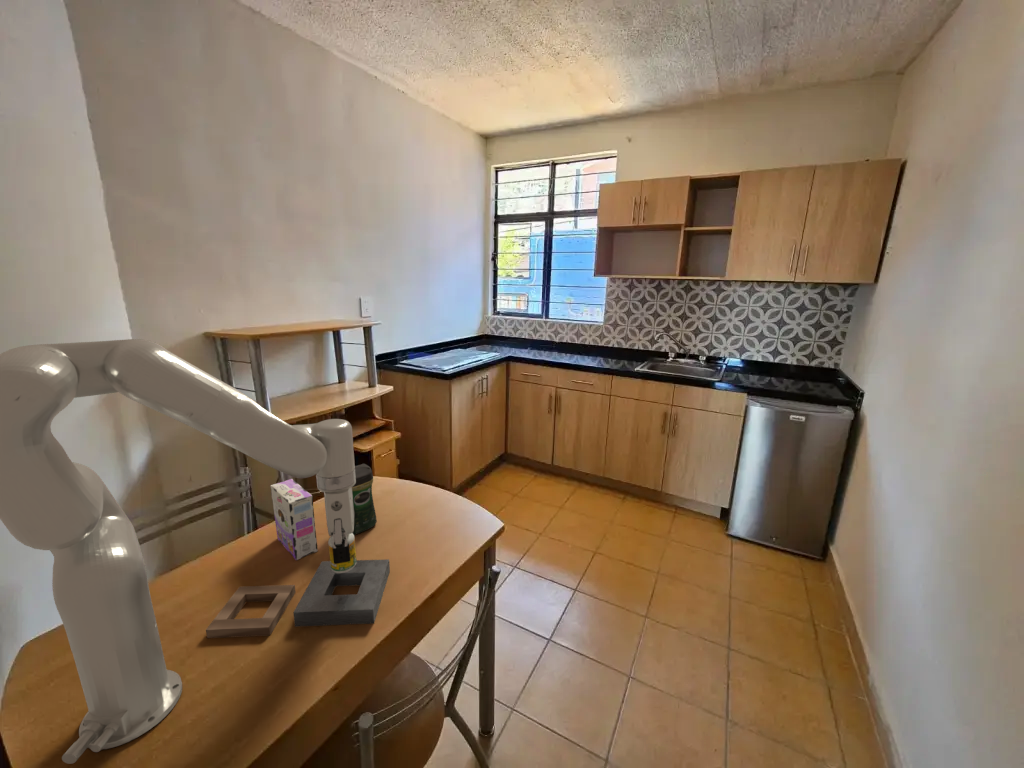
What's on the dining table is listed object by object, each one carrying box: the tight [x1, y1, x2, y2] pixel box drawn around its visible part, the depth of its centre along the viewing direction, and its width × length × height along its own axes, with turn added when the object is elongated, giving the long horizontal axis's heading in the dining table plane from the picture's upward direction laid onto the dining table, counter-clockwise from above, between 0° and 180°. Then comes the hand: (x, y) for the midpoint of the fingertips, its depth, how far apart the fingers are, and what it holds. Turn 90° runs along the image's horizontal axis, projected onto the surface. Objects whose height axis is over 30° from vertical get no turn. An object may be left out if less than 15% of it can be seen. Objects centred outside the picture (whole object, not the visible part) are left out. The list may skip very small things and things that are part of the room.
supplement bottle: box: [327, 529, 357, 573], centre depth 91 cm, size 5×5×10 cm
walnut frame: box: [205, 584, 296, 639], centre depth 89 cm, size 12×12×2 cm
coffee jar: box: [352, 463, 378, 536], centre depth 119 cm, size 10×8×19 cm
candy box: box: [270, 478, 319, 561], centre depth 110 cm, size 14×6×16 cm, turn 47°
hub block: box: [292, 558, 391, 628], centre depth 94 cm, size 16×16×4 cm
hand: (342, 552), depth 91 cm, fingers closed on supplement bottle, 5 cm apart
